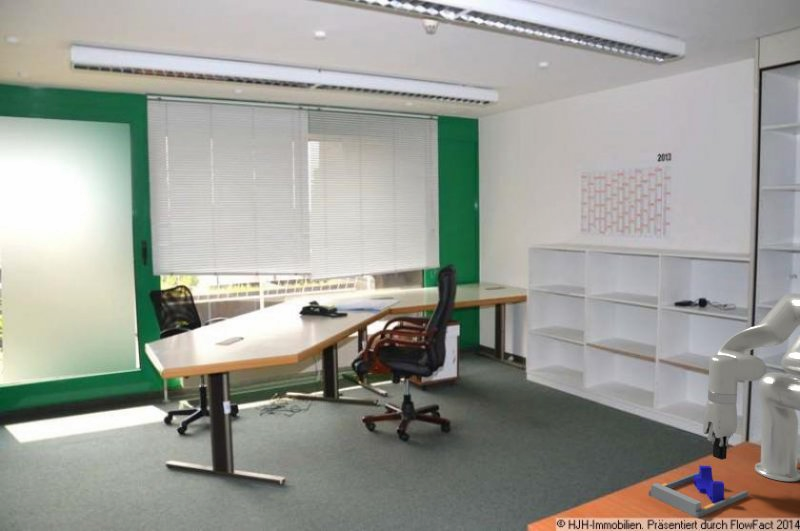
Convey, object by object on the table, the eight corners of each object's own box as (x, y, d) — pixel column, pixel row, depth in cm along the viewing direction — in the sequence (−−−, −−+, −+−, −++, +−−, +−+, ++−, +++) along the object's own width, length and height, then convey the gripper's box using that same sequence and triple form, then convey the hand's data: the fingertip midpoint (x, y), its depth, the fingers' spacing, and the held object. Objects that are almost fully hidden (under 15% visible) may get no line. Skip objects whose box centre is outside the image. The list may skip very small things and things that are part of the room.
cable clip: (693, 484, 181) (694, 465, 181) (709, 485, 181) (710, 465, 180) (706, 503, 170) (707, 482, 169) (723, 504, 169) (724, 483, 168)
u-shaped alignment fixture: (698, 476, 186) (698, 465, 186) (748, 496, 172) (748, 484, 172) (648, 495, 175) (648, 483, 175) (698, 518, 161) (698, 505, 161)
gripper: (725, 390, 184) (722, 449, 185) (694, 397, 176) (692, 458, 178) (749, 397, 177) (746, 457, 178) (718, 404, 170) (716, 467, 171)
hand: (719, 457), depth 178 cm, fingers closed
